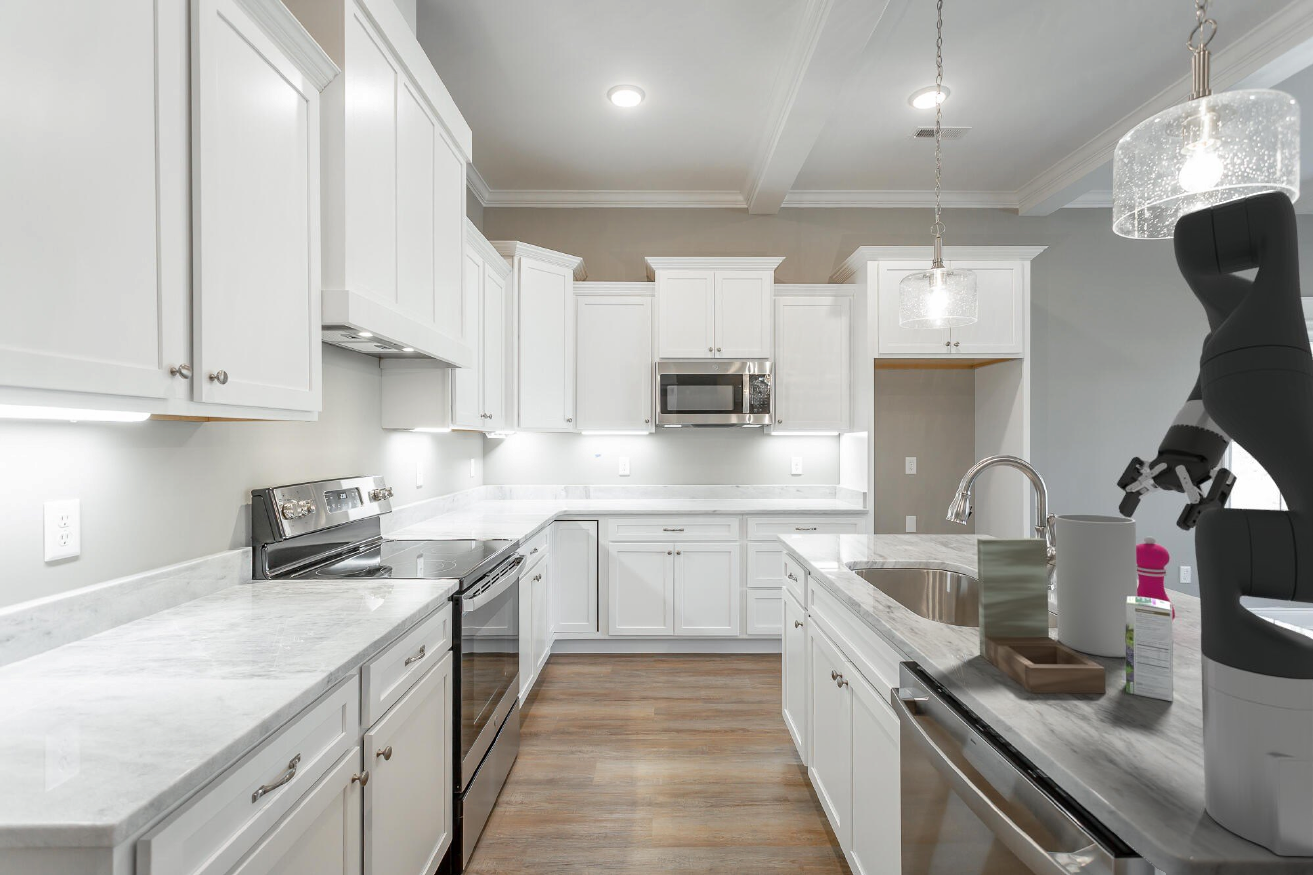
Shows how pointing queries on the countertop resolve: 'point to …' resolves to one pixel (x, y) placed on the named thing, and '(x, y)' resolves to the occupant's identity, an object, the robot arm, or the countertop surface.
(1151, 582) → the pepper mill
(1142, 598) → the syrup box
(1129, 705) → the countertop surface
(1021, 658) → the wooden tray stand
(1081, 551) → the cylinder vase
